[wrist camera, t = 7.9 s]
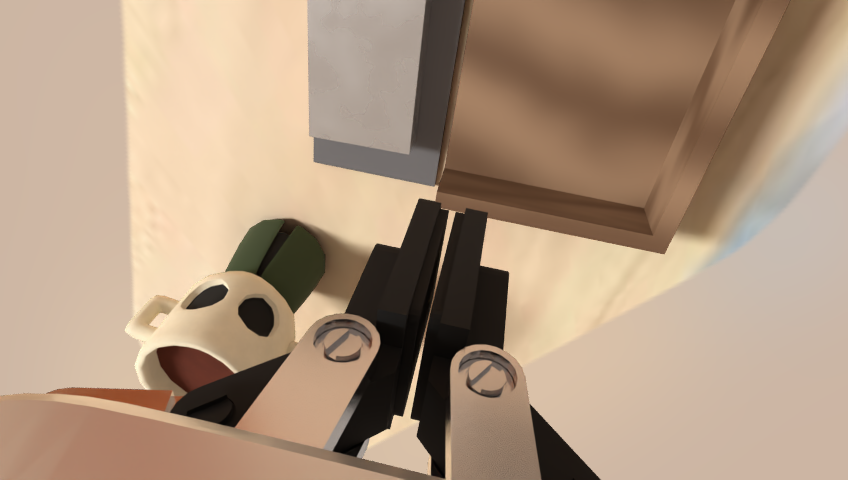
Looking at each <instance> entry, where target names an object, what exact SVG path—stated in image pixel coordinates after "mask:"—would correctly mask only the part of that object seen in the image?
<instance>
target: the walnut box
mask: <svg viewBox="0 0 848 480" xmlns="http://www.w3.org/2000/svg"><path fill="white" fill-rule="evenodd" d="M789 2H790V0H474V1H473V7H472V13H471V19H470V24H469V30H468V36H467V42H466V48H465V53H464V59H463V65H462V71H461V77H460V83H459V88H458V94H457V100H456V106H455V112H454V117H453V123H452V129H451V135H450V141H449V146H448V152H447V158H446V164H445V169H444V172H443V175H442V178H441V181H440V184H439V187H438V190H437V195H436V201H435V202H440V203H441V208H443V209H448V210H453V211H458V212H462V213H465V210H466V208H469V209H474V210H478V211H483V212H488V216H487V218H491V219H496V220H501V221H506V222H511V223H516V224H520V225H525V226H530V227H535V228H540V229H545V230H549V231H554V232H559V233H564V234H569V235H573V236H578V237H583V238H588V239H593V240H598V241H602V242H607V243H612V244H617V245H622V246H627V247H631V248H636V249H641V250H646V251H651V252H656V253H660V254H665V252H666V250H667V248H668V246H669V244H670V242H671V240H672V238H673V236H674V234H675V232H676V230H677V228H678V226H679V224H680V222H681V220H682V218H683V216H684V214H685V212H686V210H687V208H688V206H689V204H690V202H691V200H692V198H693V196H694V194H695V192H696V190H697V188H698V186H699V184H700V182H701V180H702V178H703V176H704V174H705V172H706V170H707V168H708V166H709V164H710V161H711V159H712V157H713V155H714V153H715V151H716V149H717V147H718V145H719V143H720V141H721V139H722V137H723V135H724V133H725V131H726V129H727V127H728V125H729V123H730V121H731V119H732V117H733V115H734V113H735V111H736V109H737V107H738V105H739V103H740V101H741V99H742V97H743V95H744V93H745V91H746V89H747V87H748V85H749V83H750V81H751V79H752V77H753V75H754V73H755V71H756V69H757V67H758V65H759V63H760V61H761V59H762V57H763V55H764V53H765V51H766V49H767V47H768V45H769V43H770V41H771V39H772V37H773V35H774V33H775V31H776V29H777V27H778V25H779V23H780V21H781V19H782V17H783V15H784V12H785V10H786V8H787V6H788V4H789Z"/></svg>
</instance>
